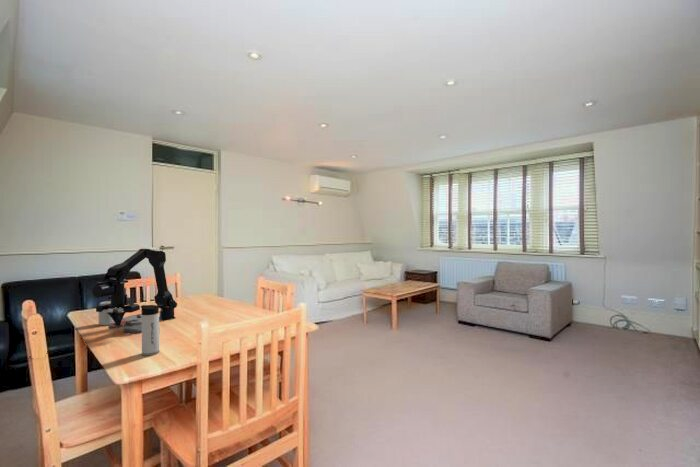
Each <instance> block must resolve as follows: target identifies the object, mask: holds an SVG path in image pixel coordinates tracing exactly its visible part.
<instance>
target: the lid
mask: <svg viewBox="0 0 700 467" xmlns="http://www.w3.org/2000/svg"><path fill="white" fill-rule="evenodd" d="M141 314H142V313H138V314H137V313H136V314H131V315H128V316H125V317H123V319H122V321H121V324H120V325H122V324H126V323H141V322H142V319H141V316H142V315H141ZM111 326H113V327H114V326H117V325H116V323H115V322H113V323H111Z"/></svg>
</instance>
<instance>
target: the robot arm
mask: <svg viewBox="0 0 700 467" xmlns="http://www.w3.org/2000/svg"><path fill="white" fill-rule="evenodd" d="M145 259H148V263H149V264H150V265H151V266H152V268H153V272H154V278H155V283H156V290H157V293H156V294H155V295H154V303H155V304H156V306H158V307H159V309H160V310H159V317H162V320H161V321H169V320H174V319H176V317H175V309H176V308H177V306H178V303H177V302H176V301H175V300H174V297H173V295H172V293H171V291H169V288H168V284H167V277H166V272H165V264H166V262H167V257H166V252H165V251H163V250H153V249H149V248H139V249H138V251H136V252H135V253H134V254H132V255H131V256H130V257H128V258H127V259H126V260H124V261H123V262H121V263H118V264H115V265H112V266H110V267H109V268H108V269H107V270H106V274H105V275H104V277H103V279H102V280H101V282H99V281H98V282H95V285H94V286H93V288H92V290H91V293H92V296H93V297H95V298H97V299H98V298H103V297H107V299H108V300H109V301H110V302H111V304H102V305H100V304H99V305H97V306H96V307H95V313H99V312H102V311H103V310H108V313H107V314H109V315H110V316H111V318H112V319H113V320H114V322H115V323H116V325H117V326H120V324H121V321H122V319H123V318H124V315H125V314H126V313H127V314H128V313H134V312H137V311H139V310H140V311H141V306H140V305H139V304H138V303H135V300H136V299H135V298H133V297H130V296H129V297H128V294H126V293H125V292H126V290H125V284H126V283H129V280H128V279H126V277H127V276H128V275H130V271H131V270H132V269H133V268H135V266H137V265H138V264H140V263H141V262H143V260H145Z"/></svg>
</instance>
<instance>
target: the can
mask: <svg viewBox="0 0 700 467" xmlns="http://www.w3.org/2000/svg"><path fill="white" fill-rule="evenodd" d="M102 304H111V302H110V300H107V301H102V302H100V303H99V305H102ZM107 313H108V310H103V311H102V312H98V324H99V326H104V327H106V326H107V327H108V326H110V325H111V323H113V322H114V320H113V319H112V318H111V316H110V315H109V314H107Z"/></svg>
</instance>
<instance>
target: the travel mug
mask: <svg viewBox="0 0 700 467" xmlns="http://www.w3.org/2000/svg"><path fill="white" fill-rule="evenodd" d="M140 309H141V313H140V314H141V315H142V316H141V319H142V333H141V355H142V356H144V357H151V356H155V355H157V354H159V353H160V320H159V317H160V308H159V307H158V306H157V304H156V305H155V304H142V305H141V306H140Z"/></svg>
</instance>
